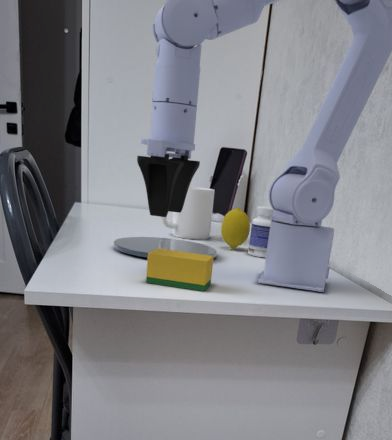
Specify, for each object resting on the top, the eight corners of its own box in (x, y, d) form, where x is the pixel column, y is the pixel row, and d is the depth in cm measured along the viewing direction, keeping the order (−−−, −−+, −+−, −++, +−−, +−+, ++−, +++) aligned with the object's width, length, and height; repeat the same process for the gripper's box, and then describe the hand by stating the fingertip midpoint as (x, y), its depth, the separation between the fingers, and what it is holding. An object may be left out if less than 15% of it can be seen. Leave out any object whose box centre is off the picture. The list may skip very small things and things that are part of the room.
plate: (223, 252, 103) (224, 245, 102) (204, 268, 86) (205, 260, 85) (132, 239, 106) (133, 233, 105) (97, 253, 89) (97, 245, 88)
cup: (217, 239, 117) (222, 191, 113) (170, 240, 110) (174, 188, 106) (194, 233, 123) (199, 186, 120) (149, 233, 116) (152, 183, 113)
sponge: (210, 284, 75) (213, 255, 74) (204, 291, 71) (207, 261, 70) (155, 276, 77) (157, 248, 75) (145, 282, 73) (147, 252, 71)
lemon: (236, 246, 111) (241, 206, 108) (252, 251, 106) (258, 210, 104) (213, 246, 108) (218, 205, 105) (229, 251, 103) (234, 208, 101)
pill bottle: (274, 259, 100) (281, 210, 97) (246, 255, 101) (252, 206, 98) (276, 255, 105) (283, 208, 102) (249, 251, 106) (255, 204, 103)
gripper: (160, 108, 77) (153, 206, 81) (125, 95, 63) (119, 214, 68) (209, 112, 76) (199, 212, 80) (184, 100, 62) (174, 221, 67)
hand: (166, 213), depth 74 cm, fingers open, 7 cm apart
